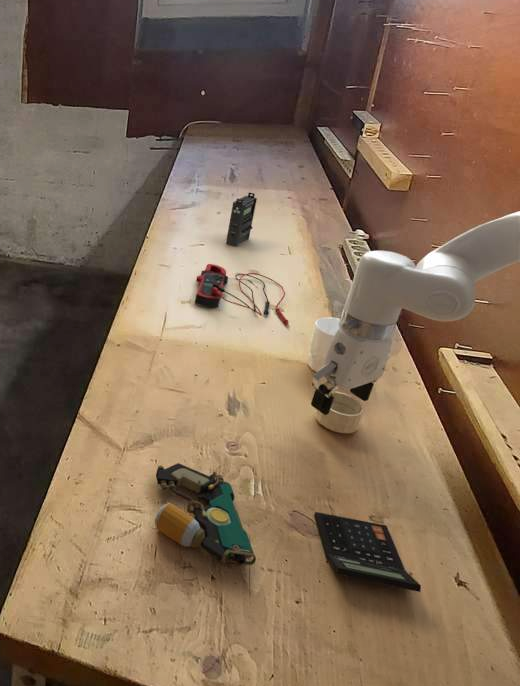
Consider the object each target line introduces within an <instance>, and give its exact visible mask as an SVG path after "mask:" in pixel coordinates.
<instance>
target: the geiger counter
mask: <svg viewBox="0 0 520 686" xmlns="http://www.w3.org/2000/svg"><path fill="white" fill-rule="evenodd" d="M255 195H256V193H254V192H249V191H248V193H247V195H244V196H242V197H240V198H239V197H238V198H236V200H235V201H233V202H232V206H231V213H230V218H229V224H228V229H227V235H226V240H225V244H226V245H228V246H229V245H230V246H233V247H238V246H239V245H240V244H242V243H243V242H245V241H246V240H249V239H250V235H251V230H252V229H253V221H254V215H255V210H256V205H257V201H258V198H257V197H255Z"/></svg>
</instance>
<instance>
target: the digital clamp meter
mask: <svg viewBox="0 0 520 686" xmlns="http://www.w3.org/2000/svg"><path fill="white" fill-rule="evenodd" d="M253 275H257V276H260V277H262V278H265V279H267V280H270V281H271V282H273V283H275V284H277V286H279V287H280V288H281V290H282V291H283V296H282V297H281V299H280V300H279V301H278V302H277V304H276V306H275V312H276V313H277V314H278V316H279V317H280V319H281V320H282V322H283V324H285V325H286V326H288V327H289V328H291V326H290V325H289V320H288V319H287V318H286V316H285V315H284V314H283V313H282V311H281V310H280V308H278V307H279V305H280V303H282V301H283V299H284V298H285V296H286V292H285V290H284V286H282V285H281V284H280V283H278V282H277V281H276V280H274V279H272V278H270V277H267V276H265V275H263V274H260V273H256V272H249V273H246V274H245V273H237V274H235V276H234V278H235V280H236V281H238V286H239V290H240V292H241V293H242V294H243V295H244V297H246V298H247V299H248V300H249V301H250V302H251V304H253V308H252V307H250V306H249V305H248V304H247V303H246V302H244V301H243V300H242V299H240V298H238V296H236V295H234V294H231V293H229V292H228V291H226V289H225V288H224V286H226V285H227V284H228V280H229V276H227V270H226V268H224V267H222V266H220V265H218V264H213V263H208V264H206V266H205V269H204V270H201V273H200V275H197V276H196V279H195V281H196V283H199V286H198V289H197V292H196V295H195V301H194V302H195V304H197V305H199V306H201V307H207V308H219V305H220V302H221V298H222V299H223V301H225V302H227V303H231V304H233V305H237V306H241V307H243V308H247V309H249V310H251V311H252V312H253V313H257V315H259V316H260V317H262V316H263V314H264V318H267V316H268V315H269V308H270V303H271V302H270V301H269V298H268V296H267V294H266V291H265V287H266V284H265V282H264V281H263V280H262V279H260V278H258V277H256V276H253ZM237 276H240V277H239V278H238V277H237ZM246 276H248V277H251V278H254V279H256V280H258V281H259V282H261V283H262V284H263V287H262V291H263V294H264V296H265V299H266V301H265V307H264V311H263V314H262V312H261V310H260V308H259V307H258V306H257V305H256V303H255V298H254V291H253V289H252V288H251V287H250V286H249V285H248V284H246V283H244V282H243V281H242V278H243V277H246ZM241 284H242V285H244V286H245V287H247V288H248V289H249V290H250V292H251V298H250V297H249V296H248V294H246V293H245V292H244V291H243V289H242V285H241ZM222 293H226V294H228V295H229V296H231V297H233V298H235V299H236V300H238V301H240V302H241V303H242V304H241V303H236V302H233V301H230V300H228V299H226V298H225V297H223V296H222ZM243 304H244V305H243Z"/></svg>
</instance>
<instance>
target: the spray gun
mask: <svg viewBox="0 0 520 686" xmlns="http://www.w3.org/2000/svg"><path fill="white" fill-rule="evenodd" d="M155 477H156V482H157V483H156V484H157V485H159V486H160V487H161V490H162V491H164V492H165V491H167V490H170V492H171V493H173V494H174V495H175V496H177V497H179V498H182V499H183V500H186V501H187V502H188V503H187V506H186V511H187V512H188V514H187V512H185V511H183V510H182V509H180V508H179V507H177V506H176V505H174V504H173V503H170V502H168V503H165V504H163V505H161V507H160V508H159V510H158V511H157V512H156V515H155V518H154V525H155V529H156V530H157V531H159V532H161V533H162V534H164V535H165V536H166V537H168V538H170V539H171V540H173V541H174V542H176V543H178V545H180V546H182V547H186V548H188V547H192V548H193V549H197V548H199V547H201V548H202V549H203V550H204V551H206V552H208V553H209V554H210V555H211V556H213V557H214V558H216V559H217V560H218V561H220V562H221V563H222V564H224V565H225V564H226V563H227V562H229V563H235V564H239V565H248V566H252V565H255V563H256V561H257V557H256V554H255V553H254V550H253V547H252V544H251V541H250V538H249V536H248V535H249V534H248V533H247V531H246V530H245V529H244V527H243V523H242V521H241V518H240V516H239V512H238V511H237V510H236V507H235V504H234V501H235V493H234V490H233V487H232V485H231V484H230V483H229V482H227V481H224V477H223V475H221V474H218V472H217V471H213V472H212V474H210V475H207V474H205V473H203V472H201V471H197V469H193V468H191V467H190V466H189V467H188V466H186V465H184V464H181V463H179V462H178V463H174V464H172V465H171V466H168V467H166V468H165V467H164V466H163V465H158V466H157V469H156V472H155ZM180 486H182V487H185V488H187V489H188V490H190V491H193V492H194V493H197V494H199V496H198V499H199V500H201V499H202V500H205V501H207V502H208V504H207V505H205V506H204V505H203V504H202V502H200V501H197V500H195V499H193V498H192V497H191V496H189V495H187V494H185V493H183V492H181V491H178V490H177V488H179V487H180ZM191 507H193V509H191ZM189 514H193V516H191V515H189ZM251 558H252V560H249V559H251ZM248 560H249V561H248Z"/></svg>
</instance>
